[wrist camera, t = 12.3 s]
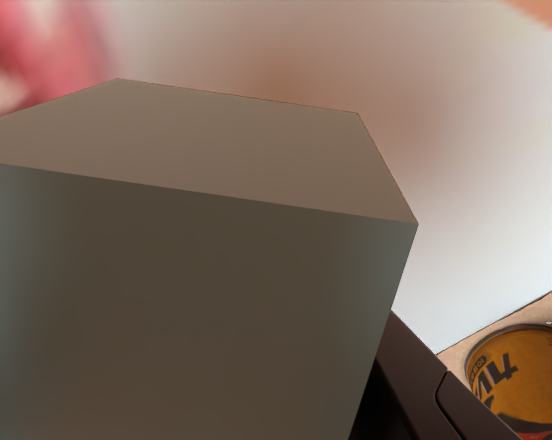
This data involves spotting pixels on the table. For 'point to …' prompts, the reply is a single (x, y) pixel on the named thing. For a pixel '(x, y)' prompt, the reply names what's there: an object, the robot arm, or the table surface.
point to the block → (191, 266)
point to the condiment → (511, 369)
